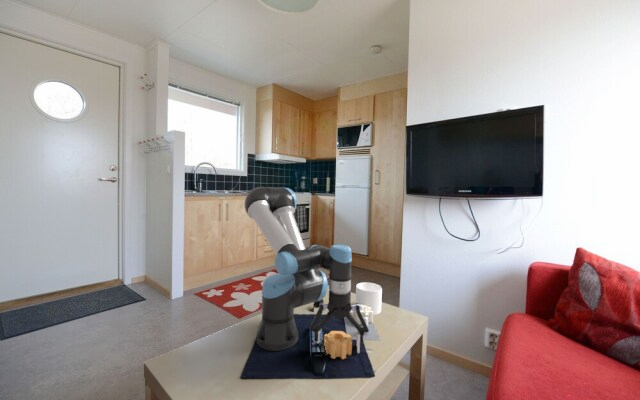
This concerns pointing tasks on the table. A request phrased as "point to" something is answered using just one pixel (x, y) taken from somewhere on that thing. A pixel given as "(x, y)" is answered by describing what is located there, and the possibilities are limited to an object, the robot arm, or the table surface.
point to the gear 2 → (363, 314)
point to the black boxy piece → (316, 305)
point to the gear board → (353, 331)
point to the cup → (369, 296)
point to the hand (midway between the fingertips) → (338, 350)
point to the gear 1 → (338, 344)
